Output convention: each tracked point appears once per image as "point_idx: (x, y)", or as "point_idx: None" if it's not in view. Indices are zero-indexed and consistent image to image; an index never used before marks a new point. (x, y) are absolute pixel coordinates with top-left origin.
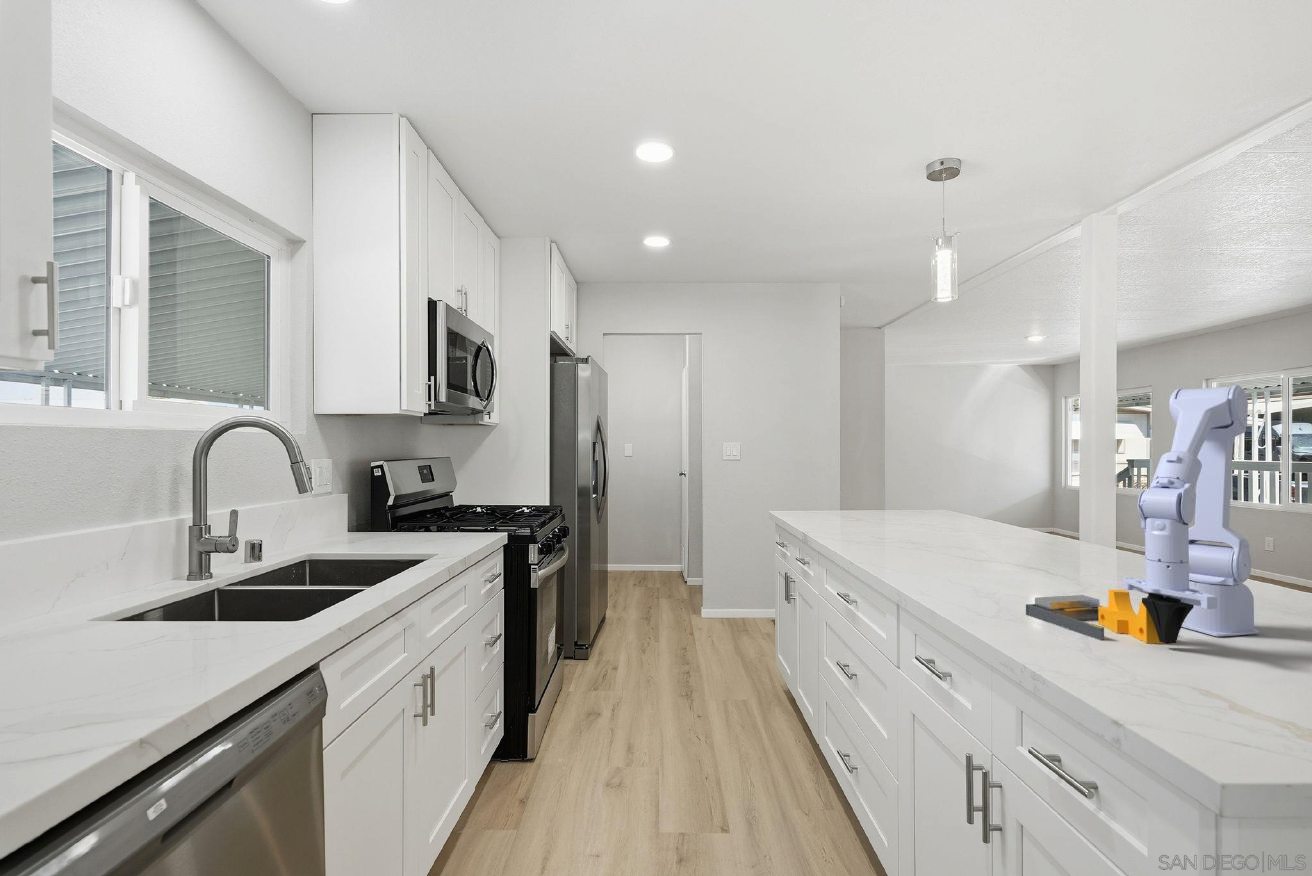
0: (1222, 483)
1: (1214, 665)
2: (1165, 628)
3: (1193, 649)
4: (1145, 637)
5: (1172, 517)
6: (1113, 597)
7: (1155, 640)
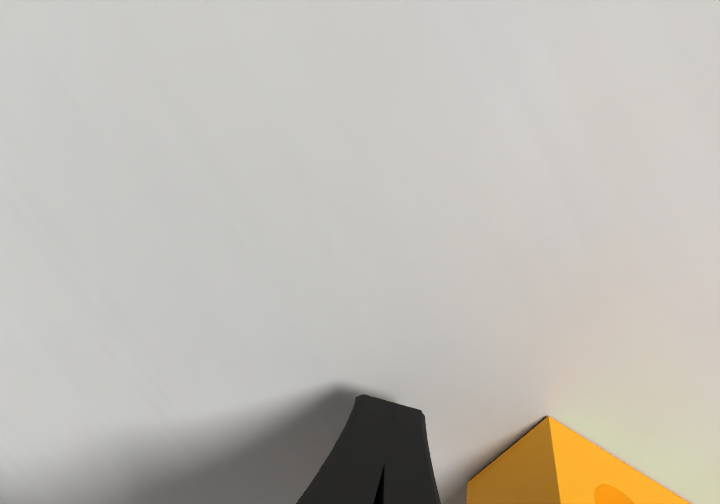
0: None
1: (3, 257)
2: (310, 489)
3: None
4: (567, 459)
5: None
6: None
7: (505, 474)
